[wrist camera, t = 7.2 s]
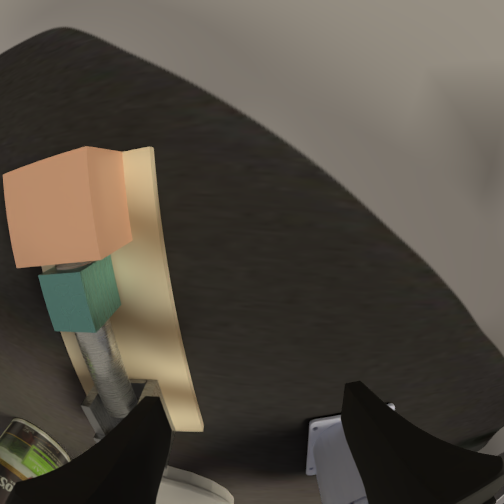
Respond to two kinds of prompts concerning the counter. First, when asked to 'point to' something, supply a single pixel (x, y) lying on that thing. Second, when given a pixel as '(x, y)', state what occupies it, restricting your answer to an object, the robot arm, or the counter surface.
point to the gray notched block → (107, 423)
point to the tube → (91, 325)
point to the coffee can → (26, 455)
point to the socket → (68, 208)
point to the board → (146, 302)
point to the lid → (190, 489)
